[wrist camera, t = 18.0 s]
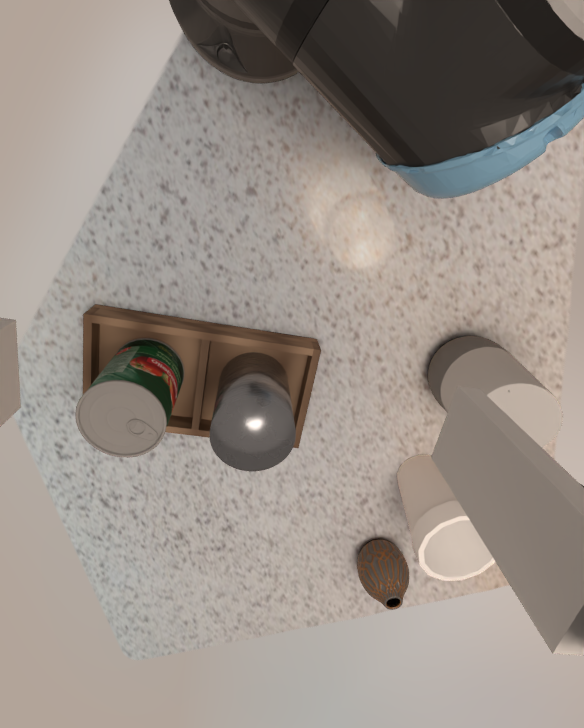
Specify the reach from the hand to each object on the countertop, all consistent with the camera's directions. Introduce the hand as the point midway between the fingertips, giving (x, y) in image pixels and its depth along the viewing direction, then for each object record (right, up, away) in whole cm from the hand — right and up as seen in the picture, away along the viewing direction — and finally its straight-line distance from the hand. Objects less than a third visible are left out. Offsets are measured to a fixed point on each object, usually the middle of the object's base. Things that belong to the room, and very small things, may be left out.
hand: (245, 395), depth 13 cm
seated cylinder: (-3, -1, +38) cm, 38 cm away
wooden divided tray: (-9, 0, +37) cm, 38 cm away
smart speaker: (+22, +1, +39) cm, 45 cm away
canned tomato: (-15, 0, +36) cm, 39 cm away
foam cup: (+19, -14, +46) cm, 51 cm away
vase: (+14, -26, +50) cm, 59 cm away
